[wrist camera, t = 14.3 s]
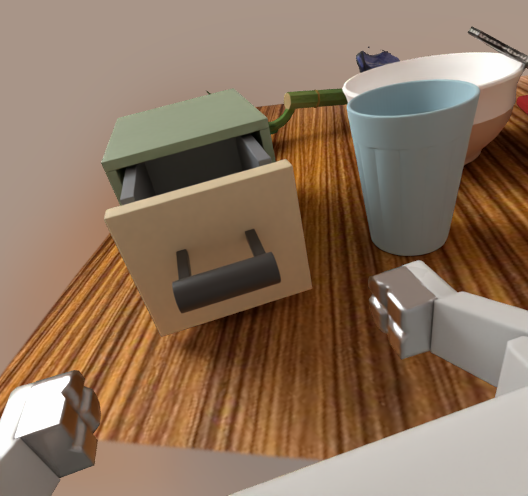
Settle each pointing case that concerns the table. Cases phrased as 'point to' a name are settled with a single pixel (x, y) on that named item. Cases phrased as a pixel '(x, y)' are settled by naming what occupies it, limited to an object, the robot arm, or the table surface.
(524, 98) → the cell phone
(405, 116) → the cup
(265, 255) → the beige drawer
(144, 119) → the cabinet
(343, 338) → the table surface
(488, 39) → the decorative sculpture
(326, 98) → the decorative plant
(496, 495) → the robot arm
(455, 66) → the bowl
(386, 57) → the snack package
